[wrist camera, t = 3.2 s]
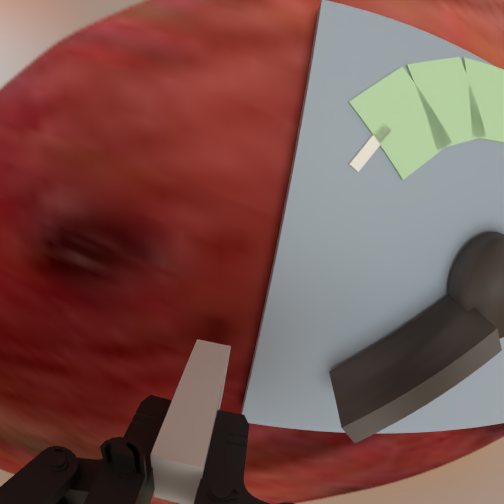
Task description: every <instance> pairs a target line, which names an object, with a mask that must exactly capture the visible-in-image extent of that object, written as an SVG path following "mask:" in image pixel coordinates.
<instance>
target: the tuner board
mask: <svg viewBox="0 0 504 504" xmlns="http://www.w3.org/2000/svg"><path fill="white" fill-rule="evenodd" d="M486 232H499V233H502V234H504V70H503V69H501V68H498V67H495V66H494V65H492V64H490V63H489V62H487V61H485V60H483V59H481V58H479V57H478V56H476V55H474V54H472V53H470V52H468V51H466V50H464V49H462V48H460V47H458V46H456V45H454V44H452V43H450V42H448V41H445V40H443V39H441V38H439V37H437V36H434V35H432V34H430V33H427V32H425V31H422V30H420V29H417V28H415V27H412V26H410V25H407V24H404V23H402V22H399V21H396V20H393V19H390V18H387V17H384V16H381V15H378V14H375V13H372V12H369V11H365V10H362V9H358V8H355V7H351V6H347V5H343V4H339V3H335V2H331V1H326V0H322V1H321V4H320V7H319V11H318V15H317V21H316V28H315V34H314V40H313V46H312V53H311V59H310V65H309V71H308V77H307V82H306V88H305V94H304V100H303V106H302V111H301V117H300V123H299V128H298V134H297V139H296V145H295V150H294V156H293V161H292V167H291V172H290V177H289V183H288V188H287V193H286V199H285V204H284V209H283V214H282V219H281V224H280V229H279V235H278V240H277V245H276V250H275V255H274V260H273V265H272V270H271V274H270V279H269V284H268V289H267V294H266V299H265V304H264V308H263V313H262V318H261V323H260V327H259V332H258V337H257V341H256V346H255V351H254V355H253V360H252V364H251V369H250V373H249V378H248V382H247V387H246V391H245V396H244V400H243V405H242V412H241V414H243V415H245V417H246V419H247V422H248V423H253V424H259V425H266V426H274V427H282V428H291V429H301V430H313V431H326V432H345V431H344V430H343V429H342V428H341V423H340V419H339V414H338V409H337V405H336V400H335V396H334V391H333V387H332V382H331V378H330V374H329V372H330V371H331V370H333V369H335V368H337V367H339V366H340V365H342V364H344V363H346V362H347V361H349V360H351V359H353V358H354V357H356V356H358V355H360V354H361V353H363V352H365V351H366V350H368V349H370V348H371V347H373V346H375V345H376V344H378V343H379V342H381V341H383V340H384V339H386V338H387V337H389V336H391V335H392V334H394V333H395V332H397V331H398V330H400V329H401V328H403V327H404V326H406V325H407V324H409V323H410V322H412V321H413V320H415V319H416V318H418V317H419V316H421V315H422V314H424V313H425V312H426V311H428V310H429V309H431V308H432V307H434V306H435V305H436V304H438V303H439V302H440V301H442V300H443V299H445V298H446V297H447V296H449V295H448V289H449V280H450V276H451V272H452V269H453V267H454V264H455V262H456V260H457V258H458V257H459V255H460V253H461V252H462V251H463V249H464V248H465V247H466V246H467V245H468V243H470V242H471V241H472V240H473V239H474V238H476V237H477V236H479V235H481V234H484V233H486ZM500 343H501V348H502V351H500V352H499V353H498V354H497V355H495V356H494V357H493V358H492V359H491V360H489V361H488V362H487V363H485V364H484V365H483V366H482V367H480V368H479V369H478V370H476V371H475V372H474V373H472V374H471V375H470V376H468V377H467V378H465V379H464V380H463V381H461V382H460V383H458V384H457V385H456V386H454V387H453V388H451V389H450V390H448V391H447V392H445V393H444V394H442V395H441V396H439V397H438V398H436V399H434V400H433V401H431V402H430V403H428V404H427V405H425V406H423V407H422V408H420V409H418V410H417V411H415V412H413V413H412V414H410V415H408V416H406V417H405V418H403V419H401V420H399V421H398V422H396V423H394V424H392V425H390V426H388V427H387V428H385V429H383V430H381V431H379V432H377V433H414V432H432V431H445V430H456V429H465V428H473V427H481V426H488V425H494V424H500V423H504V337H503V338H501V339H500ZM345 433H346V432H345Z"/></svg>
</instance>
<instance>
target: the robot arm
mask: <svg viewBox="0 0 504 504" xmlns="http://www.w3.org/2000/svg"><path fill="white" fill-rule="evenodd" d="M230 350H231V346H228V345H223V344H218V343H213V342H208V341H203V340H198V339H197V341H196V343H195V346H194V348H193V350H192V353H191V355H190V358H189V360H188V363H187V365H186V367H185V370H184V372H183V375H182V377H181V380H180V382H179V385H178V387H177V390H176V392H175V395H174V397H173V399H172V400H168V399H164V398H160V397H156V396H153V395H150V396H149V397H148V398H146V399H145V400H144V401H142V402H141V404H140V406H139V408H138V410H137V411H136V414H135V415H134V417H133V419H132V422H131V423H130V425H129V427H128V429H127V431H126V433H125V435H124V437H116V438H111V439H109V440H107V441H105V442H104V443H103V444H102V445H101V446H100V448H101V452H102V456H103V459H100V460H92V459H83V458H76V455H75V454H74V453H73V452H72V451H71V450H69V449H67V448H65V447H60V446H53V447H49V448H47V449H45V450H43V451H42V452H41V453H40V454H39V455H37V456H36V457H35V458H34V459H33V460H31V461H30V462H29V463H28V464H27V465H26V466H24V467H23V468H22V469H21V470H20V471H19V472H17V473H16V474H15V475H14V476H13V477H12V478H10V479H9V480H8V481H7V482H6V483H4V484H3V485H2V486H1V487H0V504H150V501H151V498H152V496H153V493H154V497H157V498H160V499H164V500H168V501H172V502H176V503H180V504H269V503H266V502H264V501H261V500H259V499H257V498H255V497H253V496H252V495H251V494H250V493H249V492H248V491H247V489H246V488H245V485H244V479H243V477H244V468H245V459H246V450H247V441H248V431H249V424H248V422H247V419H246V417H245V415H243V414H237V413H231V412H226V411H221V410H219V409H220V405H221V400H222V396H223V391H224V385H225V379H226V373H227V368H228V362H229V356H230ZM279 504H294V503H279Z"/></svg>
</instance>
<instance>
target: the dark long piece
mask: <svg viewBox="0 0 504 504" xmlns="http://www.w3.org/2000/svg"><path fill="white" fill-rule="evenodd" d="M448 295H449V296H447V297H446V298H445V299H443V300H442V301H440V302H439V303H438V304H436V305H435V306H434V307H432V308H431V309H429V310H428V311H426V312H425V313H424V314H422V315H421V316H419V317H418V318H416V319H415V320H413V321H412V322H410V323H409V324H407V325H406V326H404V327H403V328H401V329H400V330H398V331H397V332H395V333H394V334H392V335H391V336H389V337H387V338H386V339H384V340H383V341H381V342H379V343H378V344H376V345H375V346H373V347H371V348H370V349H368V350H366V351H365V352H363V353H361V354H360V355H358V356H356V357H354V358H353V359H351V360H349V361H347V362H346V363H344V364H342V365H340V366H339V367H337V368H335V369H333V370H331V371H330V372H329V374H330V378H331V382H332V387H333V391H334V396H335V400H336V405H337V409H338V414H339V419H340V423H341V428H342V429H343V430H344V431H345V432H346V434H347V435H348V436H349V437H350V438H351V439H352V441H353V442H354V443H357V442H359V441H361V440H363V439H365V438H367V437H369V436H371V435H373V434H375V433H377V432H379V431H381V430H383V429H385V428H387V427H388V426H390V425H392V424H394V423H396V422H398V421H399V420H401V419H403V418H405V417H406V416H408V415H410V414H412V413H413V412H415V411H417V410H418V409H420V408H422V407H423V406H425V405H427V404H428V403H430V402H431V401H433V400H434V399H436V398H438V397H439V396H441V395H442V394H444V393H445V392H447V391H448V390H450V389H451V388H453V387H454V386H456V385H457V384H458V383H460V382H461V381H463V380H464V379H465V378H467V377H468V376H470V375H471V374H472V373H474V372H475V371H476V370H478V369H479V368H480V367H482V366H483V365H484V364H485V363H487V362H488V361H489V360H491V359H492V358H493V357H494V356H495V355H497V354H498V353H499V352H500V351H502V348H501V343H500V339H501V338H503V337H504V234H502V233H499V232H486V233H484V234H481V235H479V236H477V237H476V238H474V239H473V240H472V241H471V242H470V243H468V245H467V246H466V247H465V248H464V249H463V251H462V252H461V253H460V255H459V257H458V258H457V260H456V262H455V264H454V267H453V269H452V272H451V276H450V280H449V289H448Z"/></svg>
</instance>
